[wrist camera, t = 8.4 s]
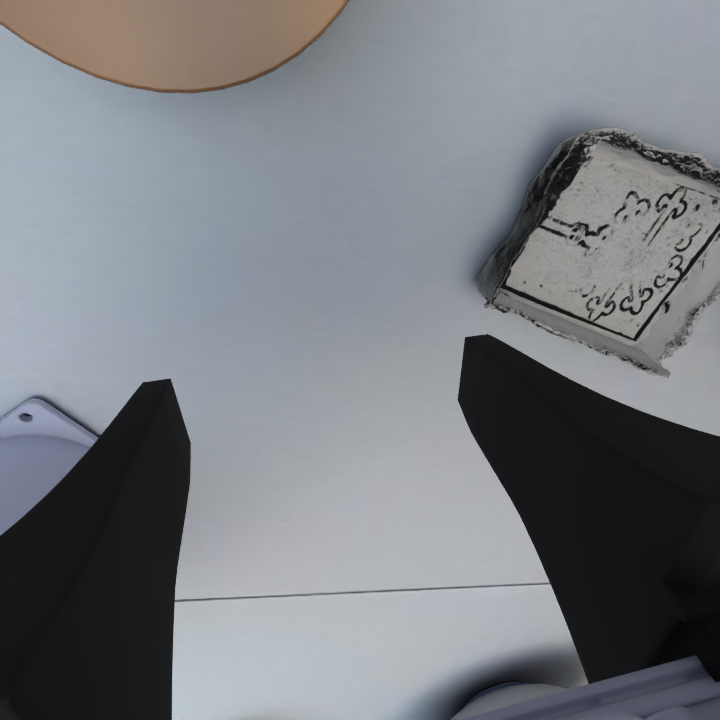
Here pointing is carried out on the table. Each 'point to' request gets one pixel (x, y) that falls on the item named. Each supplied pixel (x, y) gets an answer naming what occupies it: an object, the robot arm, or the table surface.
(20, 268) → the table surface
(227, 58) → the knobbed round lid
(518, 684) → the ramen bowl
